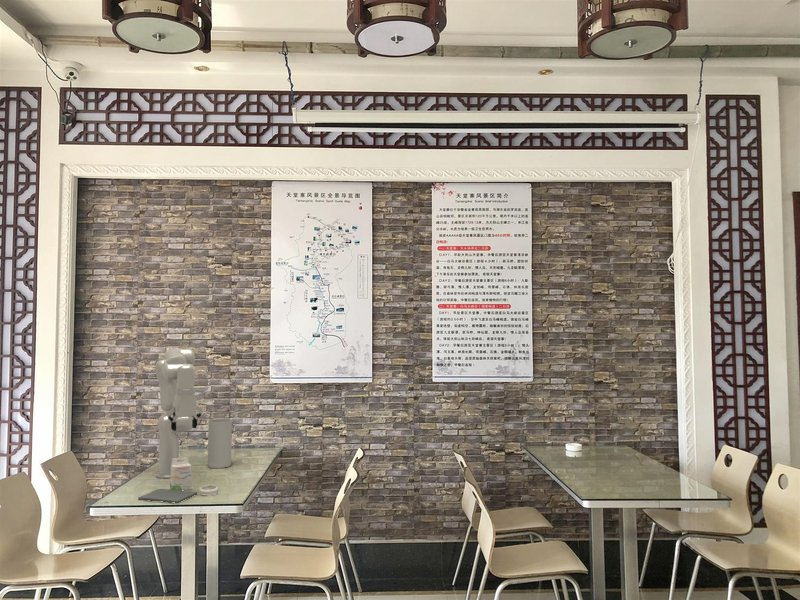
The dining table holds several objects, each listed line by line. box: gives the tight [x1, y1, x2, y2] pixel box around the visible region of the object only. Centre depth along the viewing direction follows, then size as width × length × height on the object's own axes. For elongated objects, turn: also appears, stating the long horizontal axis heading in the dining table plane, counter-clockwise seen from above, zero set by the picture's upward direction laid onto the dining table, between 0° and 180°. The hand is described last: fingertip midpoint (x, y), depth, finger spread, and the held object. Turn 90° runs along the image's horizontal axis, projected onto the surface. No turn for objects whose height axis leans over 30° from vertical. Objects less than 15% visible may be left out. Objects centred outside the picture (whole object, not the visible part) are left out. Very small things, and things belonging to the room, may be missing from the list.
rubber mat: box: [138, 488, 198, 504], centre depth 275 cm, size 15×20×1 cm
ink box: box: [169, 456, 193, 491], centre depth 288 cm, size 9×5×15 cm, turn 126°
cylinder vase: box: [207, 418, 233, 469], centre depth 337 cm, size 12×12×25 cm
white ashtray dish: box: [199, 485, 219, 496], centre depth 282 cm, size 8×8×3 cm
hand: (184, 429), depth 282 cm, fingers open, 9 cm apart
